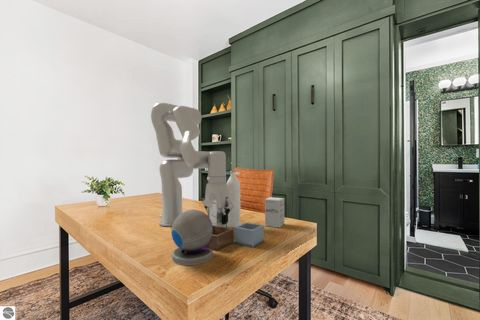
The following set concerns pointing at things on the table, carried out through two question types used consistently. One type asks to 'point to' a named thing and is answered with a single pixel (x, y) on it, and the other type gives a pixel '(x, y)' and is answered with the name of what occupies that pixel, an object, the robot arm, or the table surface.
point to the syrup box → (216, 215)
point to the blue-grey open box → (249, 234)
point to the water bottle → (234, 201)
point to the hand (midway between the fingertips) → (217, 222)
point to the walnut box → (220, 238)
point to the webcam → (192, 238)
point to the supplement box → (274, 212)
